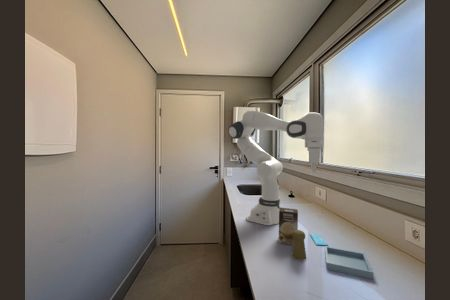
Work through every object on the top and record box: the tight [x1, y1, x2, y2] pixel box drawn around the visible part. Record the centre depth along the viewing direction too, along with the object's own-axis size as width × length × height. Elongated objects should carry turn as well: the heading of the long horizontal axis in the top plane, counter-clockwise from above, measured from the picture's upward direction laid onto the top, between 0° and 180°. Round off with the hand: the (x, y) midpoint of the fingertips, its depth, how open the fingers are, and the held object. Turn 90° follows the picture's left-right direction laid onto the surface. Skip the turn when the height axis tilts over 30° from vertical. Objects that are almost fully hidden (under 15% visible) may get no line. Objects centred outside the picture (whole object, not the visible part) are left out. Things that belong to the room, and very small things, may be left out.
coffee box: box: [278, 206, 299, 246], centre depth 100 cm, size 9×6×16 cm
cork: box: [291, 229, 307, 261], centre depth 86 cm, size 6×6×11 cm
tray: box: [324, 245, 374, 280], centre depth 81 cm, size 15×14×2 cm
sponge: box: [309, 233, 329, 247], centre depth 101 cm, size 2×12×6 cm
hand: (314, 171), depth 101 cm, fingers open, 8 cm apart
